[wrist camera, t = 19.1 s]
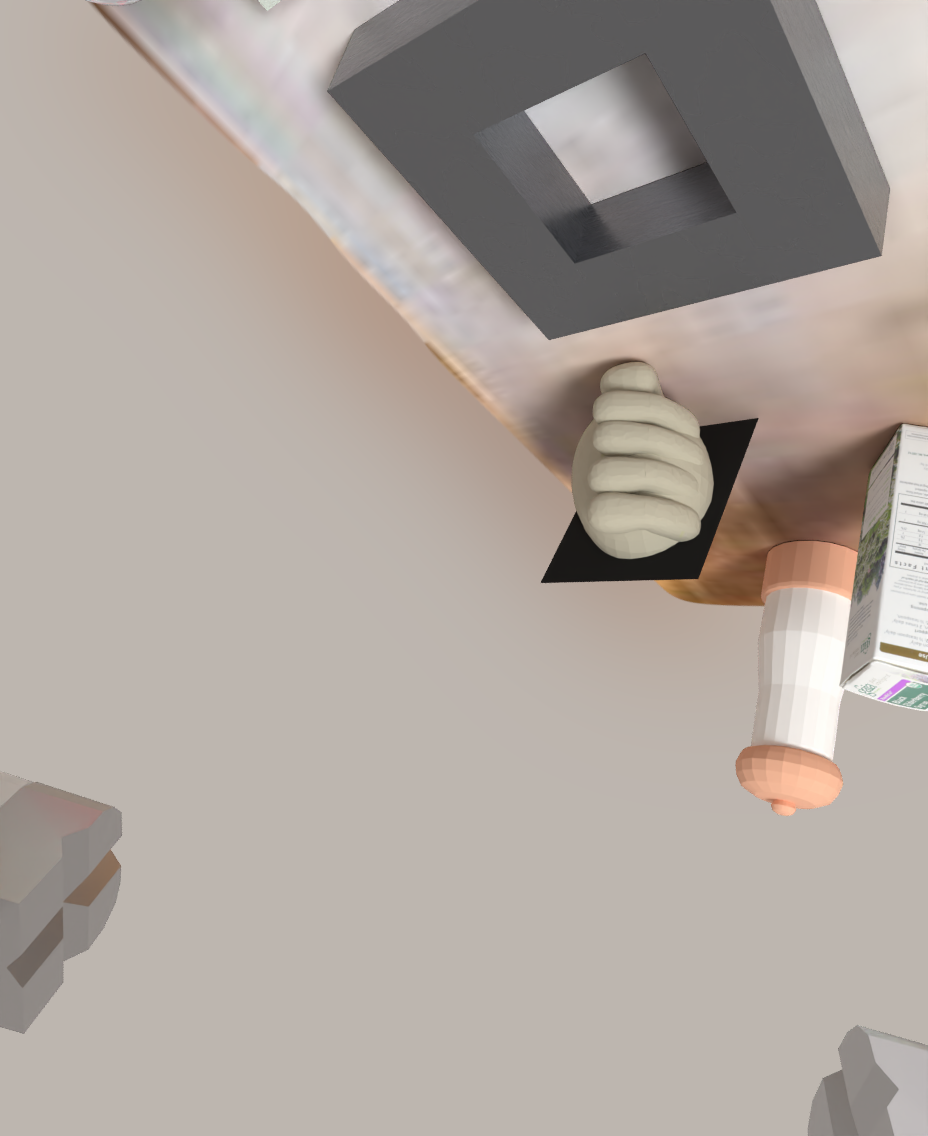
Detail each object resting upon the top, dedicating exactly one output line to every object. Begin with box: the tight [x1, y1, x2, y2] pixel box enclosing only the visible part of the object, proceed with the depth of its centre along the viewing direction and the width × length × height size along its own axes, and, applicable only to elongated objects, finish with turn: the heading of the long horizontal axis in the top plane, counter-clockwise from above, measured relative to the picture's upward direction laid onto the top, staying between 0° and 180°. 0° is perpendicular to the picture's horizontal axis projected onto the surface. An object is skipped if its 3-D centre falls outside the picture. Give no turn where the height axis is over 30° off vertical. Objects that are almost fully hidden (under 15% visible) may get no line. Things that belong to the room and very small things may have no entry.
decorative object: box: [541, 362, 758, 583], centre depth 51 cm, size 13×10×10 cm
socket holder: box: [328, 0, 890, 340], centre depth 35 cm, size 16×16×4 cm
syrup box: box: [839, 424, 928, 711], centre depth 49 cm, size 6×6×14 cm
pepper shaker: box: [736, 541, 858, 816], centre depth 64 cm, size 7×7×19 cm
